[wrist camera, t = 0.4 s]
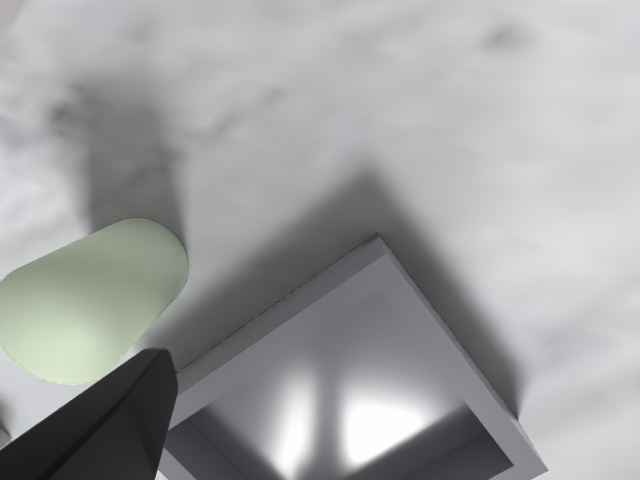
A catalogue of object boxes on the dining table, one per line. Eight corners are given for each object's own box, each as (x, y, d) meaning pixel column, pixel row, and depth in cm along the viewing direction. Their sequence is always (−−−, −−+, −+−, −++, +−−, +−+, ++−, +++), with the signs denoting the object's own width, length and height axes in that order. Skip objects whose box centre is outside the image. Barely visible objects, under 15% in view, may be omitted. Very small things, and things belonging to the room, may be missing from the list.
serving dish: (299, 542, 27) (294, 601, 24) (151, 390, 24) (121, 434, 21) (518, 421, 24) (548, 470, 21) (378, 232, 21) (386, 253, 18)
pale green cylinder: (140, 323, 23) (61, 406, 16) (75, 254, 22) (-38, 312, 15) (208, 272, 22) (152, 339, 16) (143, 198, 21) (54, 235, 15)
